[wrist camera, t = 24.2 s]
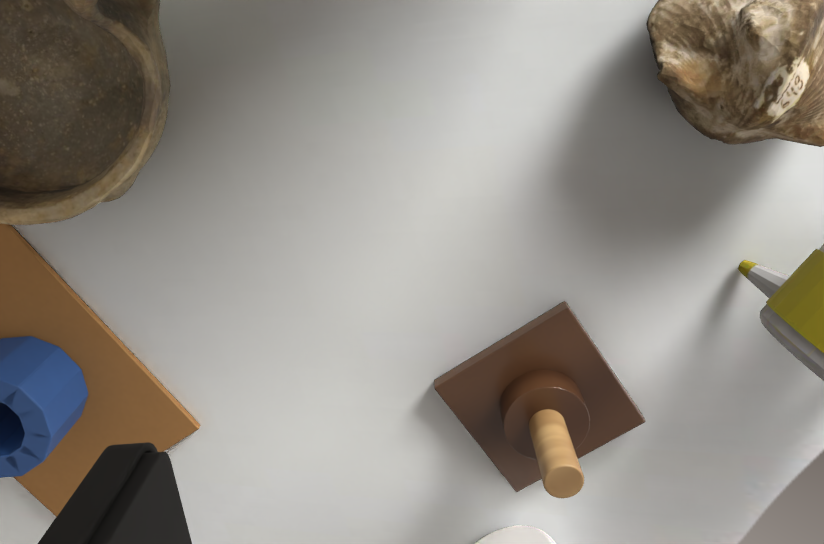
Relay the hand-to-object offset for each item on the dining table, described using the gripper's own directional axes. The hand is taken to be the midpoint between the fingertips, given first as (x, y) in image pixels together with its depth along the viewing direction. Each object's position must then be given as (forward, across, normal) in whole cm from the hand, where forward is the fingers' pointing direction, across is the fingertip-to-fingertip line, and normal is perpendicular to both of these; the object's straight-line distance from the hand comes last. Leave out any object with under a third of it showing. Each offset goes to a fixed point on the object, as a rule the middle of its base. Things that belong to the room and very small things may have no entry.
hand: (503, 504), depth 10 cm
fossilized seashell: (+28, -15, -3) cm, 32 cm away
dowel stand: (+28, -4, +16) cm, 33 cm away
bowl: (+28, +17, -6) cm, 34 cm away
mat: (+28, +25, +12) cm, 40 cm away
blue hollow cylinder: (+28, +25, +12) cm, 40 cm away
